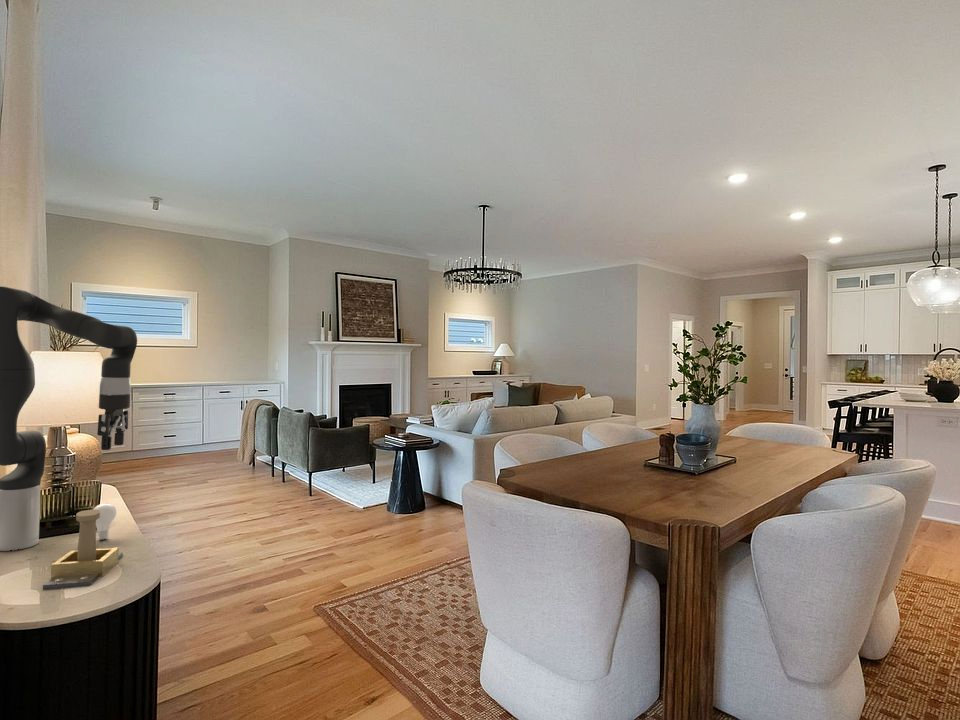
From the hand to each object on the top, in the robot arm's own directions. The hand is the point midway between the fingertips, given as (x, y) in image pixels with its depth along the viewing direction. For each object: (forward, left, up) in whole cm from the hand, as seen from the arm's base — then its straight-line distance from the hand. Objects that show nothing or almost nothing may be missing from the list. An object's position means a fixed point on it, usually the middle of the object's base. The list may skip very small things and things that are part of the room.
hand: (112, 447), depth 151 cm
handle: (+2, -20, -29) cm, 35 cm away
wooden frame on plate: (+2, -20, -29) cm, 35 cm away
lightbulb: (-4, +6, -29) cm, 30 cm away
